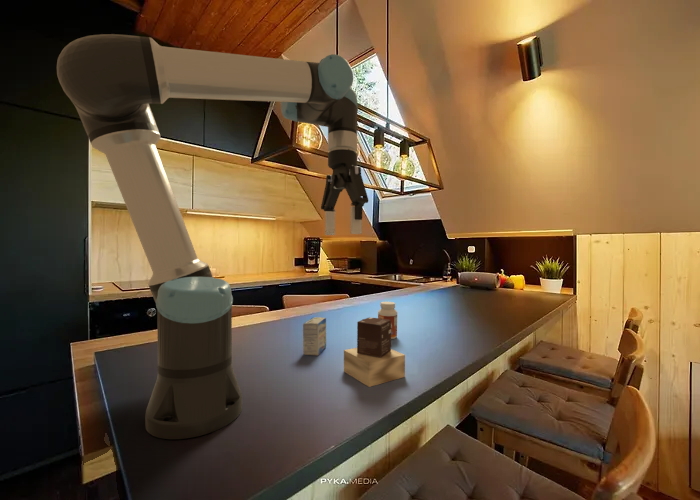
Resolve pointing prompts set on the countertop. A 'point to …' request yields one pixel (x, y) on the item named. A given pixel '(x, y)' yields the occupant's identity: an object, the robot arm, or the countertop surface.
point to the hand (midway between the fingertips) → (342, 234)
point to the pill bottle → (389, 316)
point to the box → (374, 337)
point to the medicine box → (314, 336)
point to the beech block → (374, 367)
